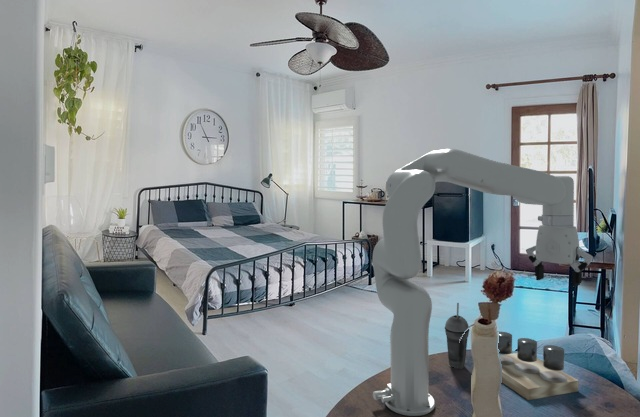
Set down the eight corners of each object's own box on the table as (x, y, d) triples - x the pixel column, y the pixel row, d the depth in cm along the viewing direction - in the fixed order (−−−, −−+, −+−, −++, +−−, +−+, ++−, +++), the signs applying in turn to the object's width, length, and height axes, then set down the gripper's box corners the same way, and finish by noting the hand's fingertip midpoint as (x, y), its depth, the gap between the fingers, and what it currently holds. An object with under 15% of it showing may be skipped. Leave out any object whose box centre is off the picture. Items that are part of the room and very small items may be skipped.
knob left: (501, 355, 126) (501, 338, 126) (490, 348, 131) (490, 332, 131) (515, 353, 127) (515, 336, 127) (504, 346, 132) (504, 330, 132)
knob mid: (525, 363, 121) (526, 345, 120) (513, 356, 125) (513, 339, 125) (540, 360, 122) (541, 343, 122) (528, 353, 127) (528, 337, 126)
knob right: (552, 371, 115) (553, 353, 115) (538, 363, 120) (539, 346, 120) (568, 369, 116) (568, 351, 116) (553, 361, 121) (554, 344, 121)
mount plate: (528, 400, 112) (528, 388, 112) (480, 367, 132) (480, 357, 131) (578, 391, 117) (578, 379, 116) (525, 360, 136) (525, 351, 136)
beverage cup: (466, 360, 137) (466, 298, 135) (471, 371, 130) (472, 305, 128) (442, 360, 138) (442, 298, 136) (446, 370, 130) (447, 305, 129)
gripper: (520, 220, 124) (520, 279, 125) (586, 224, 110) (585, 290, 111) (533, 218, 128) (533, 275, 130) (598, 221, 115) (597, 285, 116)
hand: (557, 282), depth 121 cm, fingers open, 9 cm apart
